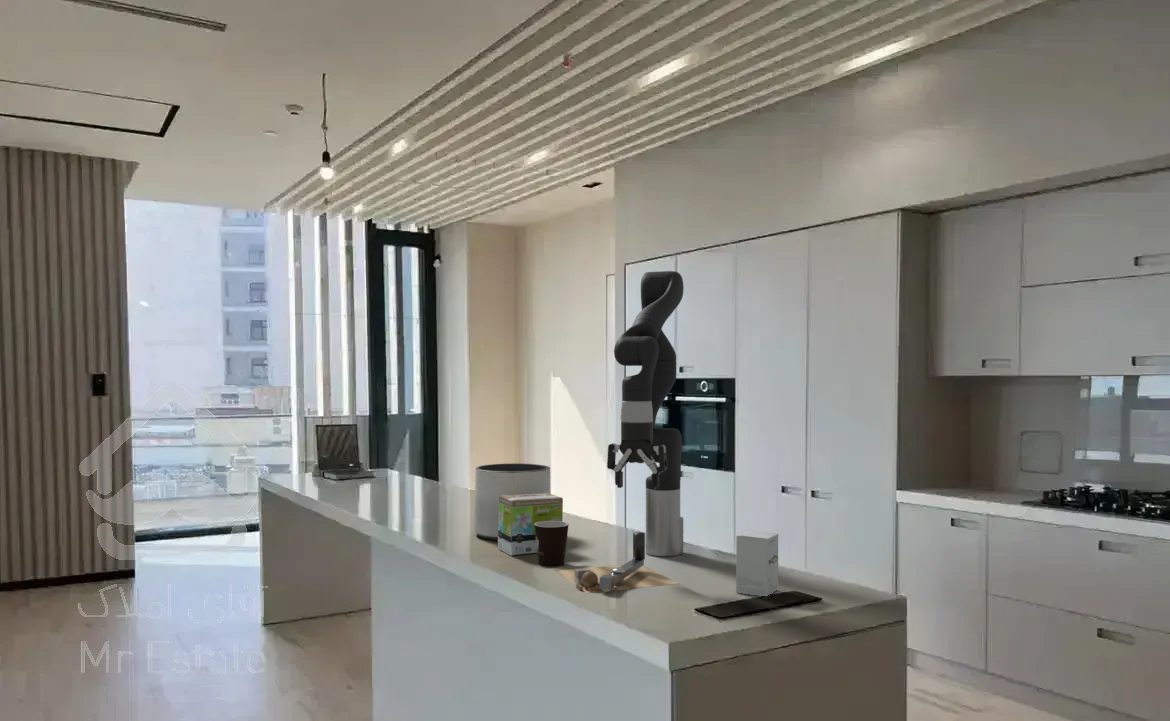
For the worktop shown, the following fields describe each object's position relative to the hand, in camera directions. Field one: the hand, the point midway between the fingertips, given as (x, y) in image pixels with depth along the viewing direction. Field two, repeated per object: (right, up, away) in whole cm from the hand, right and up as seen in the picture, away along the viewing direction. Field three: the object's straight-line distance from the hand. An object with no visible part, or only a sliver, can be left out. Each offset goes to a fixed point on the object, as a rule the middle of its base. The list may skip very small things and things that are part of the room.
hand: (637, 488), depth 193 cm
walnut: (-11, -19, -17) cm, 28 cm away
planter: (-34, -22, +48) cm, 63 cm away
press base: (-6, -20, -8) cm, 22 cm away
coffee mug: (-21, -21, +12) cm, 32 cm away
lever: (-4, -18, -11) cm, 21 cm away
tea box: (-27, -21, +27) cm, 44 cm away
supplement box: (+25, -21, -15) cm, 36 cm away
